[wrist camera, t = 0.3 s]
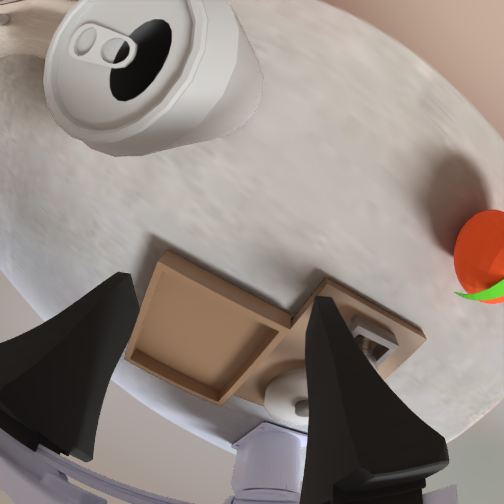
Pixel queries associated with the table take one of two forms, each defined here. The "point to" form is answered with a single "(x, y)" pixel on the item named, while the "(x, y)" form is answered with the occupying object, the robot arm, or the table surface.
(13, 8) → the beer glass
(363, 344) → the lock pin
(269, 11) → the table surface
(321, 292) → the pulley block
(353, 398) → the robot arm
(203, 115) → the can
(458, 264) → the clementine
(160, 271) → the tray
